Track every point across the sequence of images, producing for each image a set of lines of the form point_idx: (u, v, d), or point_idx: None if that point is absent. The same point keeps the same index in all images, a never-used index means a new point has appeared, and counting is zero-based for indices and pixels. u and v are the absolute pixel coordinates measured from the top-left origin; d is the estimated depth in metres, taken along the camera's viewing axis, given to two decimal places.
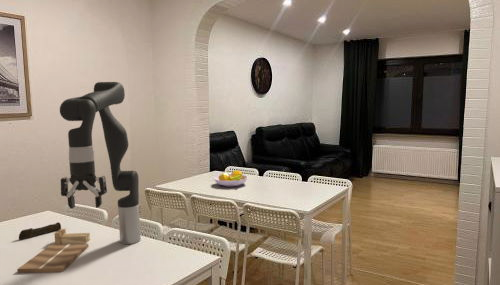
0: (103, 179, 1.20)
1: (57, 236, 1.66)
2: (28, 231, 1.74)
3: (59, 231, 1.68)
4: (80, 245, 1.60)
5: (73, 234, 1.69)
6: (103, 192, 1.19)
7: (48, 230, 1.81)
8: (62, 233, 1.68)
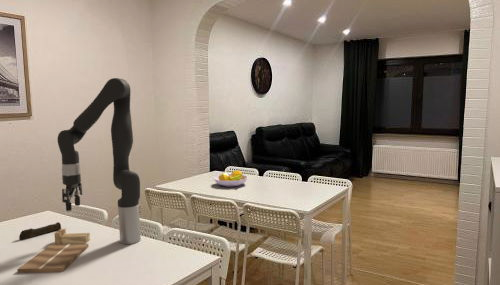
0: None
1: (57, 236, 1.66)
2: (28, 231, 1.74)
3: (59, 231, 1.68)
4: (80, 245, 1.60)
5: (73, 234, 1.69)
6: (81, 193, 1.72)
7: (48, 230, 1.81)
8: (62, 233, 1.68)
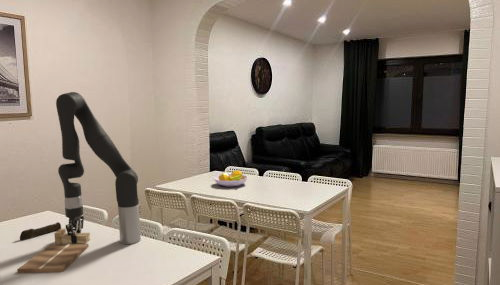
0: None
1: (57, 236, 1.66)
2: (29, 231, 1.74)
3: (59, 231, 1.68)
4: (80, 245, 1.60)
5: None
6: (82, 226, 1.73)
7: (48, 230, 1.81)
8: (62, 233, 1.68)
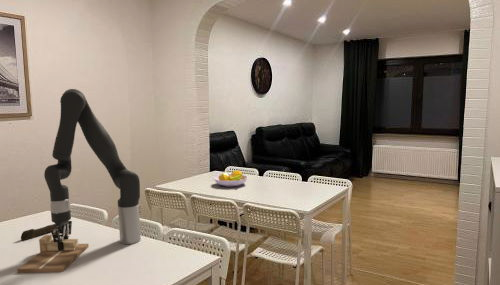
0: None
1: (42, 242, 1.53)
2: (30, 231, 1.73)
3: (44, 237, 1.55)
4: (80, 245, 1.60)
5: None
6: (70, 232, 1.61)
7: (49, 230, 1.81)
8: (48, 239, 1.56)
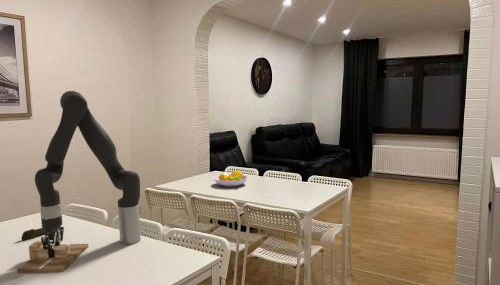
0: None
1: (32, 249, 1.46)
2: (31, 231, 1.73)
3: (35, 244, 1.48)
4: (80, 245, 1.60)
5: None
6: (62, 238, 1.54)
7: None
8: (38, 246, 1.49)
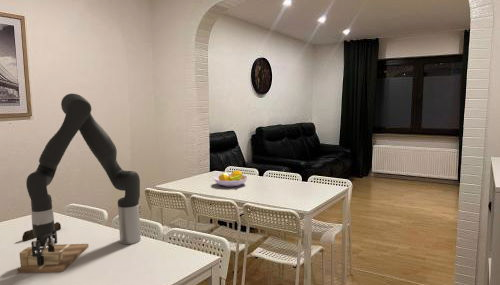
0: None
1: (23, 256, 1.40)
2: (31, 232, 1.73)
3: (26, 250, 1.42)
4: (80, 245, 1.60)
5: None
6: (56, 241, 1.49)
7: None
8: (29, 252, 1.42)
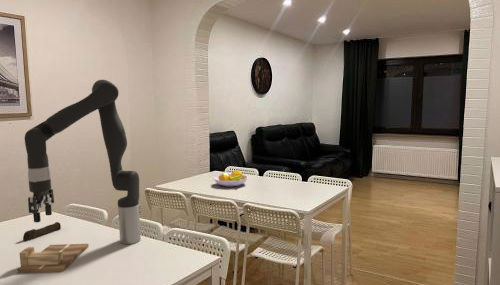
0: None
1: (23, 256, 1.40)
2: (32, 232, 1.73)
3: (26, 250, 1.42)
4: (80, 245, 1.60)
5: (42, 253, 1.43)
6: (53, 200, 1.49)
7: (49, 230, 1.81)
8: (29, 252, 1.42)
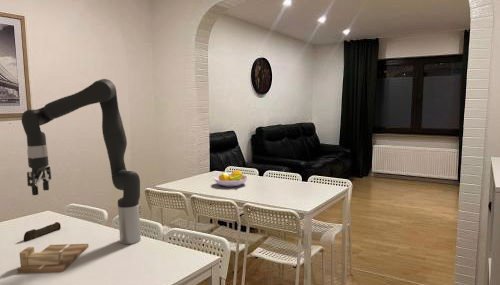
0: None
1: (23, 256, 1.40)
2: (32, 232, 1.73)
3: (26, 250, 1.42)
4: (80, 245, 1.60)
5: (42, 253, 1.43)
6: (50, 177, 1.63)
7: (49, 230, 1.81)
8: (29, 252, 1.42)
